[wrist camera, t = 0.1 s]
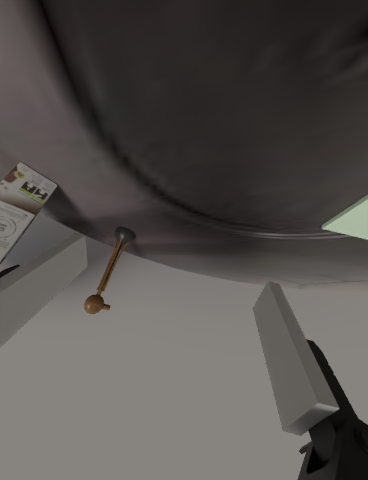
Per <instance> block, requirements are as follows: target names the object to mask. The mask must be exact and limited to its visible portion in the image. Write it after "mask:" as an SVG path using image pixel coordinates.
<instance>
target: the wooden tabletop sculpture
mask: <svg viewBox="0 0 368 480" xmlns="http://www.w3.org/2000/svg"><path fill="white" fill-rule="evenodd" d="M134 237H135V234H134V232H132V231H131V230H129V229H127V228H124V227H118V228H117V229H116V231H115V239H116V241H115V245H114V249H113V253H112V255H111V258H110V261H109V263H108V266H107V268H106V270H105V273H104V275H103V277H102V279H101V282H100V284H99V286H98V289H97V290H98V292H97V294H96V295H91V296H90V297H88V298H87V300H86V301H85V304H84V309H85V310H86V312H87V313H89V314H95V313H97V312H99V311H100V310H101V309H105V310H109V309H110V305H106V304H104V300H103V298H102V297H101V296H100V295H101V292H102V291H104V290H105V287H106V285H107V283H108V280H109V278H110V276H111V274H112V271H113V269H114V267H115V265H116V263H117V261H118V259H119V257H120V255H121V253H122V252H123V250H124V248H125V247H126V245H127V244H128V243H130V242H131V241H132V240H133V239H134ZM117 242H118V244H119V245H118V247H117V249H116V251H115V248H116V243H117ZM122 245H125V246H124V247H123V249H122V250H121V252H120V254H119V256H118V253H119V251H120V249H121V247H122ZM114 251H115V254H114ZM113 254H114V256H113ZM117 256H118V258H117ZM112 257H113V258H112ZM116 258H117V259H116ZM115 260H116V261H115ZM110 262H111V263H110ZM114 262H115V263H114ZM112 267H113V268H112ZM111 269H112V270H111Z"/></svg>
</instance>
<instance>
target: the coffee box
mask: <svg viewBox="0 0 368 480" xmlns="http://www.w3.org/2000/svg"><path fill="white" fill-rule="evenodd" d="M56 187H57V185H56V184H55V183H53V182H52V181H50V180H48V179H47V178H45V177H44V176H42V175H40V174H39V173H37V172H36V171H34V170H33V169H31V168H29V167H28V166H26V165H25V164H23V163H19V164H18V165H17V166H16V167H15V168H14V169H13V170H12V171H11V172H10V173H9V174H8V175H7V176H6V177H5V178H4V179H3V180H2V181H1V182H0V264H1V263H2V262H3V260H4V259H5V258H6V256H7V255H8V254H9V252H10V251H11V250H12V248H13V247H14V246H15V244H16V243H17V242H18V240H19V239H20V238H21V236H22V235H23V234H24V232H25V230H26V229H27V228H28V227H29V225H30V224H31V223H32V221H33V220H34V218H35V217H36V216H37V214H38V213H39V212H40V210H41V209H42V207H43V206H44V204H45V203H46V202H47V200H48V199H49V197H50V196H51V194H52V193H53V192H54V190H55V189H56Z"/></svg>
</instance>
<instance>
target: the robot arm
mask: <svg viewBox="0 0 368 480" xmlns="http://www.w3.org/2000/svg"><path fill="white" fill-rule="evenodd" d="M86 267H87V253H86V241H85V235H82V234H78V233H74V234H72V235H71V236H69V237H67V238H66V239H64V240H63V241H61V242H59V243H57V244H56V245H54V246H52V247H51V248H49V249H47V250H46V251H44V252H42V253H41V254H39V255H38V256H36V257H34V258H33V259H31V260H29V261H28V262H26V263H24V264H23V265H16V266H13V267H10V268H7V269H5V270H3V271H1V272H0V347H1V346H2V345H3V344H4V343H6V342H7V341H8V340H9V339H10V338H11V337H12V336H13V335H14V334H15V333H16V332H17V331H18V330H19V329H21V327H23V326H24V325H25V324H26V323H27V322H28V321H29V320H30V319H31V318H32V317H33V316H35V315H36V314H37V313H38V312H39V311H40V310H41V309H42V308H43V307H44V306H45V305H46V304H47V303H48V302H50V301H51V300H52V299H53V298H54V297H55V296H56V295H57V294H58V293H59V292H60V291H61V290H62V289H64V288H65V287H66V286H67V285H68V284H69V283H70V282H71V281H72V280H73V279H74V278H75V277H76V276H77V275H79V273H81V272H82V271H83V270H84V269H85V268H86ZM253 311H254V315H255V320H256V324H257V328H258V332H259V336H260V340H261V344H262V347H263V352H264V356H265V360H266V364H267V368H268V372H269V376H270V380H271V384H272V388H273V392H274V396H275V400H276V405H277V408H278V413H279V416H280V421H281V425H282V429H283V431H286V432H289V433H293V434H296V435H300V436H301V435H303V434H304V433H306V432H307V431H309V433H310V437H311V440H312V441H311V442H309V443H308V444H306V445H305V446H303V447H302V448H301V449H300V450H299V452H300V453H301V454H303V453H304V452H306V455H305V458H304V461H303V464H302V467H301V471H300V474H299V477H298V480H368V425H367V424H365V423H364V422H363V421H361V420H359V419H358V417H357V415H356V414H355V412H354V410H353V408H352V406H351V404H350V403H349V401H348V399H347V397H346V395H345V393H344V391H343V390H342V388H341V386H340V384H339V382H338V380H337V378H336V376H334V374H333V371H332V369H331V367H330V366H329V365H328V362H327V360H326V358H325V356H324V354H323V352H322V351H321V350H320V349H319V347H318V346H317V345H316V344H315V343H314V342H313V341H310V340H307V339H306V338H305V336H304V334H303V332H302V330H301V328H300V326H299V324H298V322H297V320H296V318H295V316H294V314H293V312H292V309H291V307H290V305H289V303H288V301H287V299H286V297H285V295H284V293H283V291H282V289H281V287H280V285H279V284H277V283H273V282H269V281H268V282H267V284H266V286H265V288H264V289H263V291H262V293H261V295H260V297H259V298H258V300H257V302H256V304H255V306H254V307H253Z"/></svg>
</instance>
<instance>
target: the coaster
mask: <svg viewBox="0 0 368 480" xmlns="http://www.w3.org/2000/svg"><path fill="white" fill-rule="evenodd" d="M322 229H325V230H329V231H334V232H338V233H342V234H346V235H351V236H355V237H359V238H363V239H368V195H366V196H365V197H363V198H362V199H360V200H359V201H357V202H356V203H354V204H353V205H351V206H350V207H348V208H347V209H345V210H344V211H342V212H341V213H339V214H338V215H336V216H335V217H333V218H332V219H330V220H329V221H327V222H326V223H324V224H323V225H322Z"/></svg>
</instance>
